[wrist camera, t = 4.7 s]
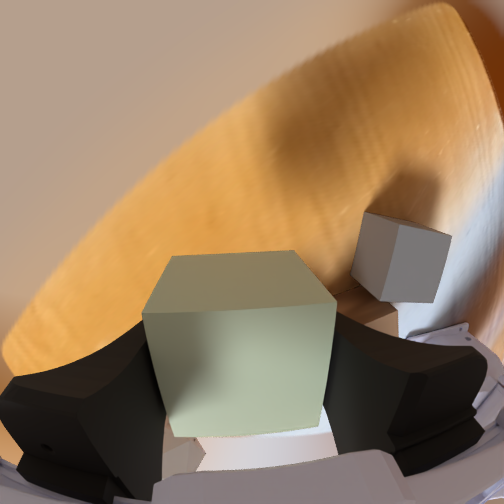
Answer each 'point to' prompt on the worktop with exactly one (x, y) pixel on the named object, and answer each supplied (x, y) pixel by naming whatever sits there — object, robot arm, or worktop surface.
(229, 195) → the worktop surface
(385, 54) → the worktop surface
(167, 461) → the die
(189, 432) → the sage block
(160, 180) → the worktop surface
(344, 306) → the walnut block
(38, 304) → the worktop surface
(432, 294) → the charcoal block
